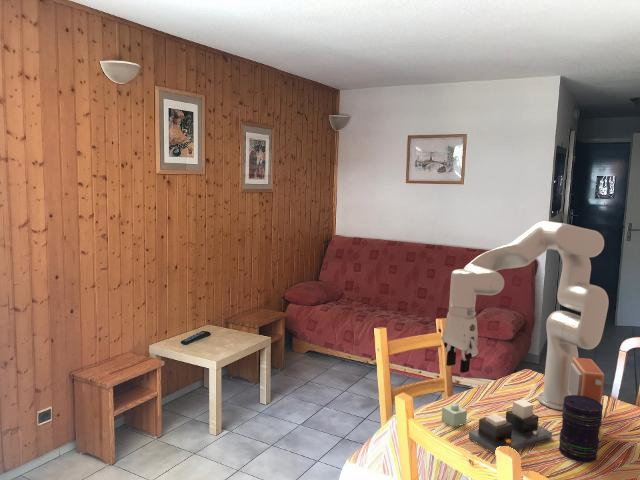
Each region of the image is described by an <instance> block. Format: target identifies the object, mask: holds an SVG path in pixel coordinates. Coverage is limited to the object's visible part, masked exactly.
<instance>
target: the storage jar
mask: <svg viewBox="0 0 640 480" xmlns="http://www.w3.org/2000/svg"><path fill="white" fill-rule="evenodd" d="M603 407H604V405H603V404H602V402H601V403H600V402H598V401H596V400H594V399H592V398H589V397H585V396H579V395H569V396H566V397H565V398H564V404H563V409H562V410H561V411H562V413H561V419H562V424H561V429H560V432H559V439H558V440H559V444H558V445H559V446H558V451H559V453H560V454H561V455H562V456H564V457H565V458H567V459H569V460H571V461H574V462H578V463H583V464H585V463H586V464H591V463H594V462H596V461H597V459H598V453H599V452H598V451H599V449H600V438H599V434H600V428H601V427H602V420H603V410H604V409H603Z"/></svg>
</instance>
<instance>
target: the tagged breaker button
mask: <svg viewBox="0 0 640 480" xmlns="http://www.w3.org/2000/svg"><path fill="white" fill-rule="evenodd" d="M485 417H486V419H485V421H487V422H489V423H490V424H492V425H494V426H496V427H497V426H501V425H504V424H506V418H504V417H502V416H501V415H499V414H497V413H493V414H490V415H485Z"/></svg>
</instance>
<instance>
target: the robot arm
mask: <svg viewBox="0 0 640 480" xmlns="http://www.w3.org/2000/svg"><path fill="white" fill-rule="evenodd" d="M604 247H605V239H604V236H603V235H602V234H601V233H600V232H599V231H597V230H594V229H590V228H584V227H581V226H576V225H572V224H569V223H563V222H556V221H550V220H542V221H541V220H540V221H538V222H537V223H535V224H533V225H532V226H530V227H529V228H528V229H527V230H525V231H524V232H523V233H522V234H520V235H519V236H518V237H516V238H515V239H514V240H512V241H511V242H510V243H508V244H504V245H502V246H500V247H496V248H494V249H491V250H488V251H484V252H483V253H481V254H480V255H478V256H476V257H475V258H474V259H472V260H471V261H470V262H469V263H467V264H466V265H465V266H464V267H463V268H458V269H454V270H453V271H451V276H450V289H449V291H450V292H449V302H448V303H449V304H448V311H447V314H446V318H445V323H444V331H443V332H444V333H443V335H442V336H441V341H442V343H443V345H444V348H445V353H446V363H445V364H446V366H447V367H451V366H455V365H456V362H457V361H456V360H457V352H456V349H458V350H461V351H460V352H461V359H460V365H459V366H460V367H459V373H461V374H464V373H467V372H468V373H469V372H470V364H471V360H472V359H473V358H474V357H475V356H477V355H478V354H479V350H478V339H479V338H478V337H479V336H478V335H479V334H478V329H479V328H478V320H477V317H475V316H476V315H477V312H476V311H475V310H476V299H477V295H482V296H483V295H484V296H494V295H497V294H499V293H500V292H502V290H503V289H504V287H505V279H504V277H503V275H502V274H501V273H500V272H498V271H499V270H506V269H517V268H523V267H526V266H529V265H530V264H531V263H532V262H533V261H535V260H536V259H538V258H539V257H540V256H541V255H542V254H544V253H545V252H546V251H548V250H554V251H557V252H558V254H559V256H560V258H561V261H562V268H561V275H560V279H559V284H558V290H557V295H556V297H557V298H556V299H557V301H558V304H559V305H561V306H563V307H565V308H567V309H570V310H573V311H576V312H579V313H580V315H578V314H576V313H574V312H573V313H572V312H570V311H567V310H555V311H552V313H551V314H549V315H548V317H547V319H546V326H545V328H546V335H547V336H546V337H547V346H546V347H547V348H546V349H547V350H546V359H545V369H544V380H543V381H544V382H543V390H542V392H540V393H538V395H537V400H538V402H539V403H540V404H542V405H543V406H545V407H547V408H551V409H552V410H553V409H554V410H558V411H562V409H563V404H564V398H565V397H566V396H569V393H568V385H569V376H570V366H571V365H570V364H571V363H572V361H573V357H575V358H579V352H578V351H579V350H578V348H581V349H585V350H593V349H594V348H596V347H597V346H599V344H600V342H601V340H602V338H603V333H604V330H605V323H606V319H607V315H608V314H607V313H608V310H609V305H610V304H609V296H608V294H607V292H606V290H605V289H604V288H602V287H601V286H598V285H595V284H592V283H590V280H591V272H592V265H591V264H592V263H591V259H590V258H595V257H597V256H599V254H601V253H602V251H603V250H604Z"/></svg>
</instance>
